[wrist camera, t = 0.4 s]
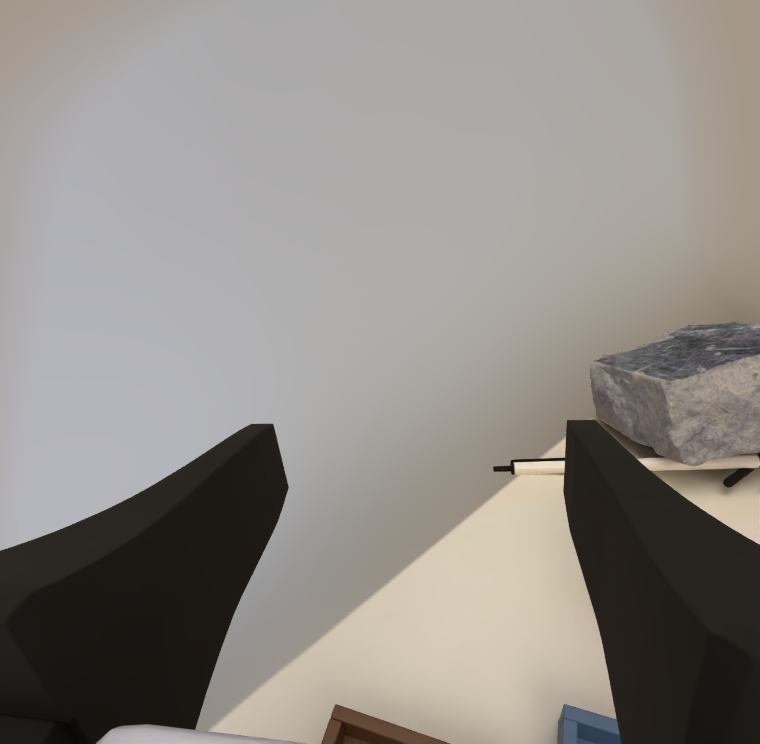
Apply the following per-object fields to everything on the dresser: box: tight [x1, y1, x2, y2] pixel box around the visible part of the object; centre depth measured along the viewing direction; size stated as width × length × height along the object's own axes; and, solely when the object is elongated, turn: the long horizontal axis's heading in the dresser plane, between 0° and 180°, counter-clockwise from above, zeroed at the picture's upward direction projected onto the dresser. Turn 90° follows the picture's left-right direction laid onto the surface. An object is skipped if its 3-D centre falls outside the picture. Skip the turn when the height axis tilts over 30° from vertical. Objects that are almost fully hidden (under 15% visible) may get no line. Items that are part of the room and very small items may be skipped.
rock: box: [590, 322, 760, 466], centre depth 37 cm, size 15×8×10 cm
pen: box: [493, 455, 760, 475], centre depth 36 cm, size 1×19×1 cm
